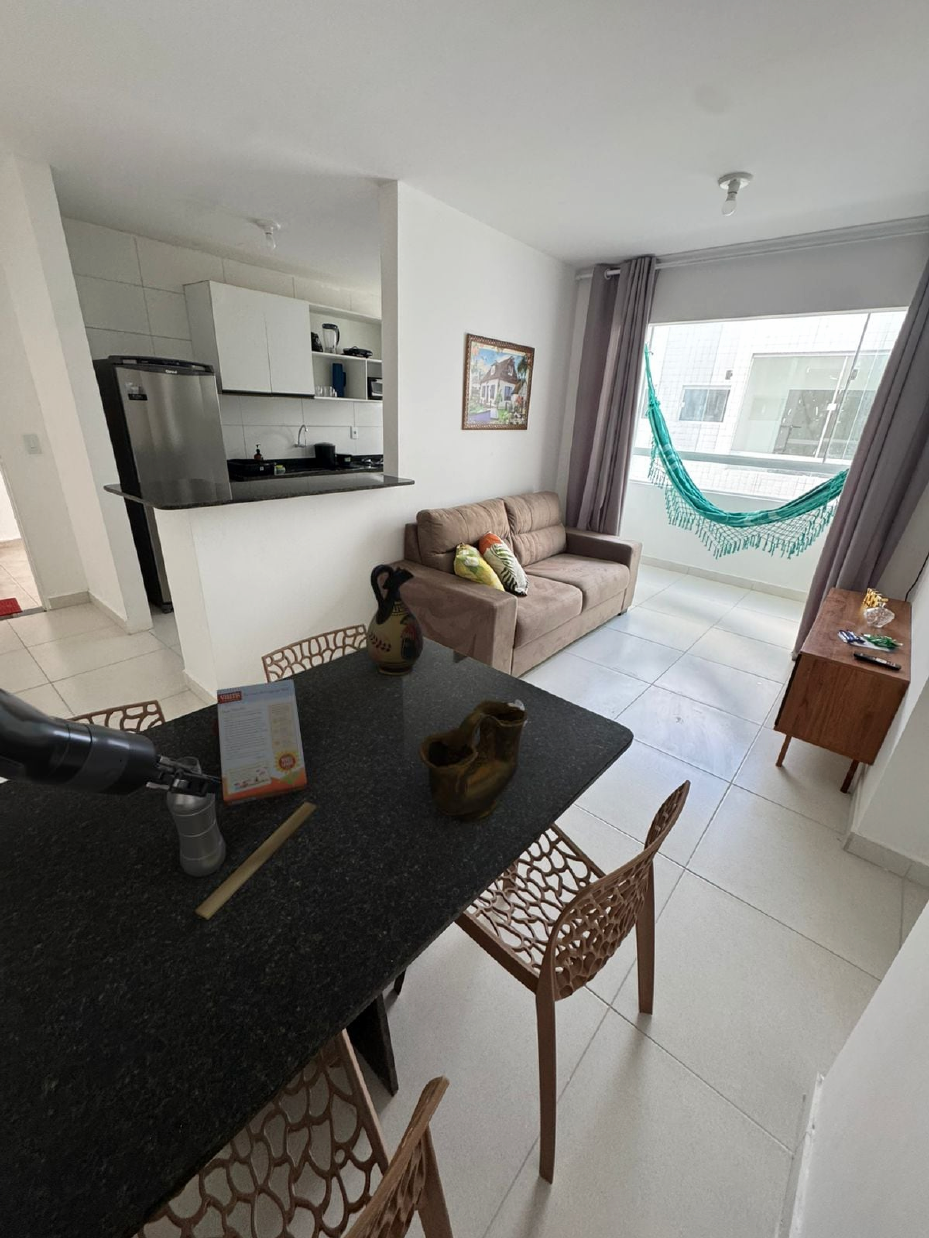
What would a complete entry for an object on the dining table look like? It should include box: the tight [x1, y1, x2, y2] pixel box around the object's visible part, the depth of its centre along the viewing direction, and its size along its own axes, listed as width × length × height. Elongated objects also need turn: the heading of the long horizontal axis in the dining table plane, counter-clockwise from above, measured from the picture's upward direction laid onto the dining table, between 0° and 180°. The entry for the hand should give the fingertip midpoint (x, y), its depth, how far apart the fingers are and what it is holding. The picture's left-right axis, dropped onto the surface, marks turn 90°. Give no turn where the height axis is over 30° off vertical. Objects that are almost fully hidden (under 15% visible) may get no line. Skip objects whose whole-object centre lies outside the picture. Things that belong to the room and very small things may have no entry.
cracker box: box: [216, 679, 308, 807], centre depth 97 cm, size 14×6×21 cm
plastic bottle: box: [165, 756, 227, 878], centre depth 77 cm, size 6×7×20 cm
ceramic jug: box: [365, 563, 424, 676], centre depth 135 cm, size 17×16×30 cm
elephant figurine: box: [507, 699, 528, 728], centre depth 119 cm, size 7×8×6 cm
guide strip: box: [195, 801, 317, 920], centre depth 83 cm, size 2×24×1 cm, turn 156°
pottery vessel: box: [417, 699, 529, 823], centre depth 93 cm, size 25×11×20 cm, turn 140°
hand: (196, 776), depth 75 cm, fingers open, 8 cm apart
